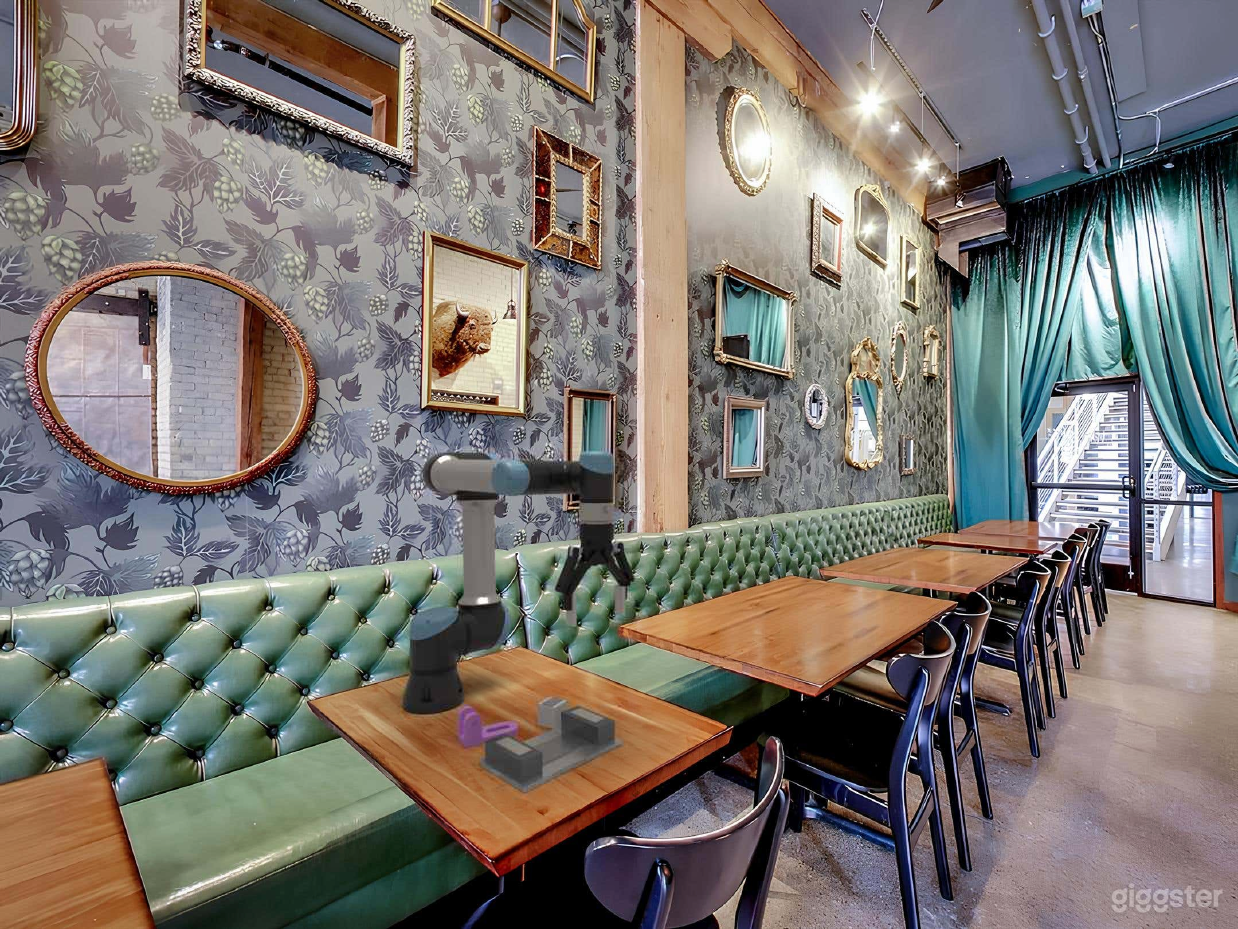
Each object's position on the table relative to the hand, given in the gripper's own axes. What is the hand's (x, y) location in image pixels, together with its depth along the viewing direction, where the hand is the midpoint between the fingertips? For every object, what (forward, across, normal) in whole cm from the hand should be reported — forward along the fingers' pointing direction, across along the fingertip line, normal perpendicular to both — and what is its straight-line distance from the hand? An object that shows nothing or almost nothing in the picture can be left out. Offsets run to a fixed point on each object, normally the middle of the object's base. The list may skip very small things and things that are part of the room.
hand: (596, 620), depth 126 cm
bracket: (+27, -15, +19) cm, 37 cm away
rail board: (+27, -10, +2) cm, 29 cm away
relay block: (+27, -1, +15) cm, 31 cm away
